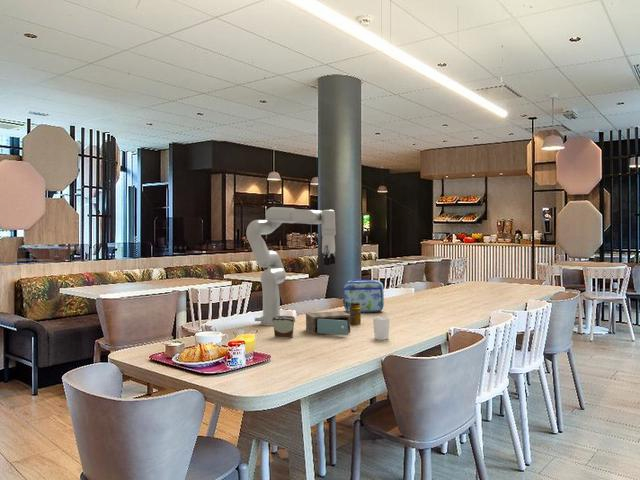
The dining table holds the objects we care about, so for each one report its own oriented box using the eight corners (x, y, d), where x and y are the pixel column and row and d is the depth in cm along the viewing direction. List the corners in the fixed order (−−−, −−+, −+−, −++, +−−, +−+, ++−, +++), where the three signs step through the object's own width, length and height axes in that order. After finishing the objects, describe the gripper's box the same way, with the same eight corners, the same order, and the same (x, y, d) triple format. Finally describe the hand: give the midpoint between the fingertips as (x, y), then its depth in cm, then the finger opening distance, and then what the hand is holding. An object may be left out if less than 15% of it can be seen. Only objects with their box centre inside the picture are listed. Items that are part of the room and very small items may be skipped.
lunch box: (342, 312, 335) (341, 279, 334) (345, 309, 345) (344, 278, 345) (382, 313, 329) (382, 280, 328) (384, 310, 339) (384, 278, 339)
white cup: (379, 340, 249) (379, 319, 248) (370, 337, 256) (370, 317, 255) (392, 339, 252) (392, 318, 252) (383, 336, 259) (383, 316, 259)
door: (316, 333, 263) (316, 319, 263) (318, 332, 265) (317, 318, 265) (346, 335, 257) (346, 321, 257) (347, 334, 259) (347, 320, 259)
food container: (299, 335, 263) (299, 316, 262) (294, 338, 257) (294, 318, 257) (276, 334, 267) (276, 314, 266) (271, 336, 261) (271, 316, 261)
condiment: (363, 324, 293) (363, 302, 293) (351, 325, 288) (351, 304, 288) (356, 322, 299) (355, 301, 299) (344, 324, 294) (343, 302, 294)
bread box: (313, 334, 264) (313, 317, 264) (306, 329, 278) (305, 313, 278) (350, 332, 270) (350, 314, 270) (341, 327, 284) (341, 310, 283)
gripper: (326, 233, 290) (327, 263, 290) (317, 233, 274) (318, 265, 274) (339, 232, 288) (340, 263, 288) (330, 232, 271) (331, 265, 272)
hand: (329, 264), depth 281 cm, fingers open, 9 cm apart
